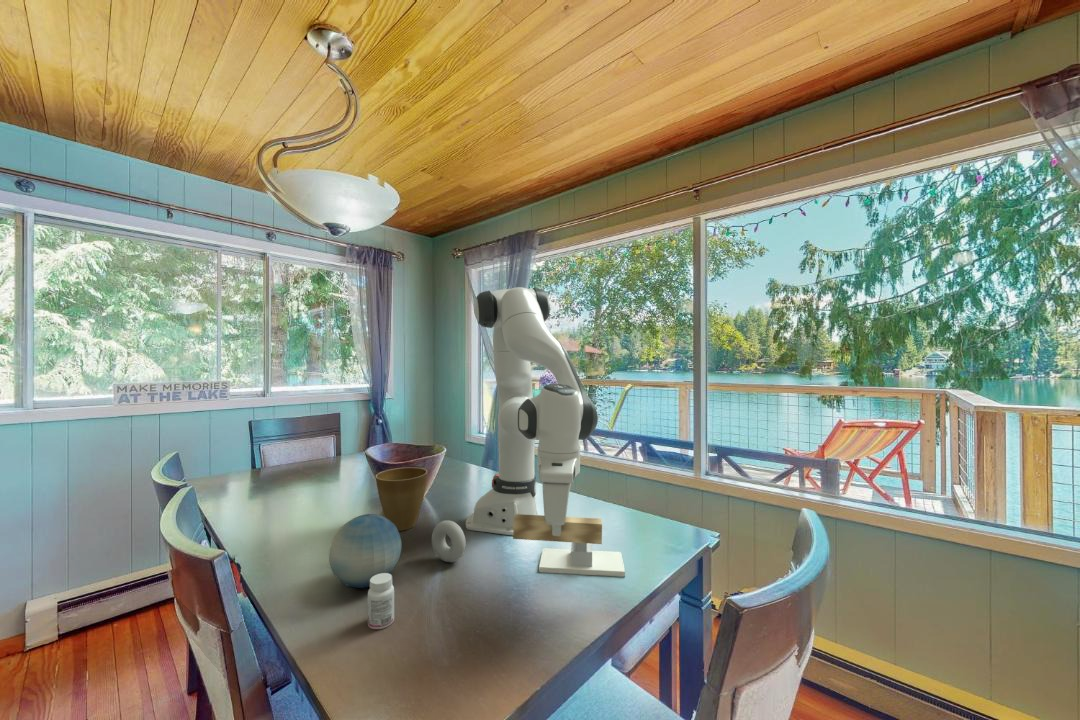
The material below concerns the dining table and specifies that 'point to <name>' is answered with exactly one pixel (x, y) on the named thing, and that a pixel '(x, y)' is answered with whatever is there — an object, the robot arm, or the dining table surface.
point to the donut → (456, 537)
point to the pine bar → (570, 531)
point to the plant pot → (402, 494)
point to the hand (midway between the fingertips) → (557, 530)
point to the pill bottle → (381, 601)
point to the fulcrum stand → (582, 561)
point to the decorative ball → (364, 550)
